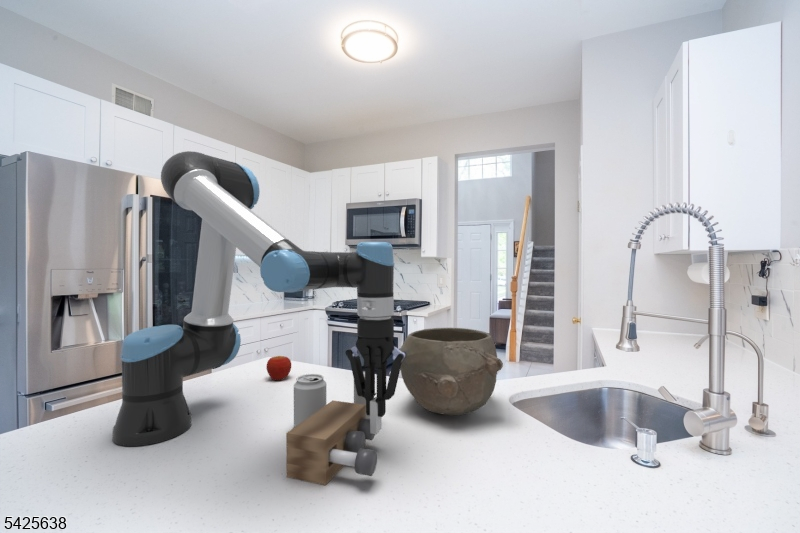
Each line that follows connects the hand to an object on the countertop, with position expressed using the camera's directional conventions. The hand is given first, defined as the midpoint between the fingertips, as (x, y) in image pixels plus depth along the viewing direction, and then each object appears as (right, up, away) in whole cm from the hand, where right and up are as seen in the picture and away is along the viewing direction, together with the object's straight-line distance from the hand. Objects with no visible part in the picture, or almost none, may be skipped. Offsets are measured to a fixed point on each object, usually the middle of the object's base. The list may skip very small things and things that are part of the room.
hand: (375, 430), depth 79 cm
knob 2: (-5, -2, -11) cm, 12 cm away
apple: (-35, -4, +47) cm, 59 cm away
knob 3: (-6, -2, +2) cm, 6 cm away
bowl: (+18, -4, +22) cm, 28 cm away
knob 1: (-8, -2, -4) cm, 9 cm away
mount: (-9, -4, -3) cm, 10 cm away
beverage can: (-4, -4, +12) cm, 13 cm away
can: (-16, -4, +10) cm, 19 cm away
